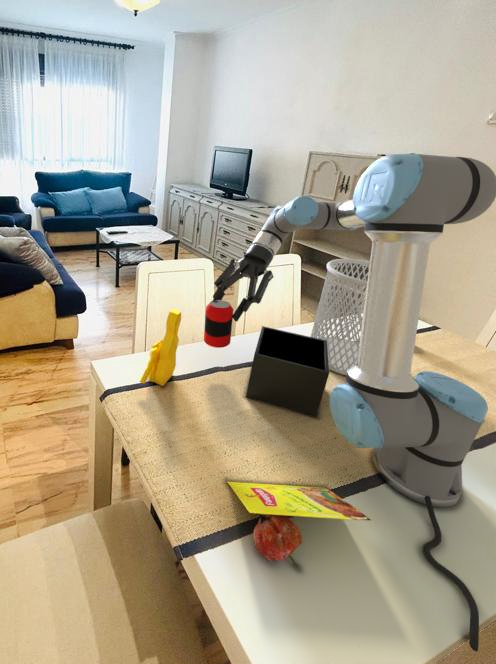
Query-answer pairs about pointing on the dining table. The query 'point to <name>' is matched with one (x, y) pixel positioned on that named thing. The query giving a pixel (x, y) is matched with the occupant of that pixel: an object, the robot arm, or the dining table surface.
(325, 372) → the bin
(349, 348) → the wastebasket
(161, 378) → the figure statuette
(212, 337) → the soda can
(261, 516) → the pomegranate
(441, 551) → the dining table surface
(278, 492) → the food package
